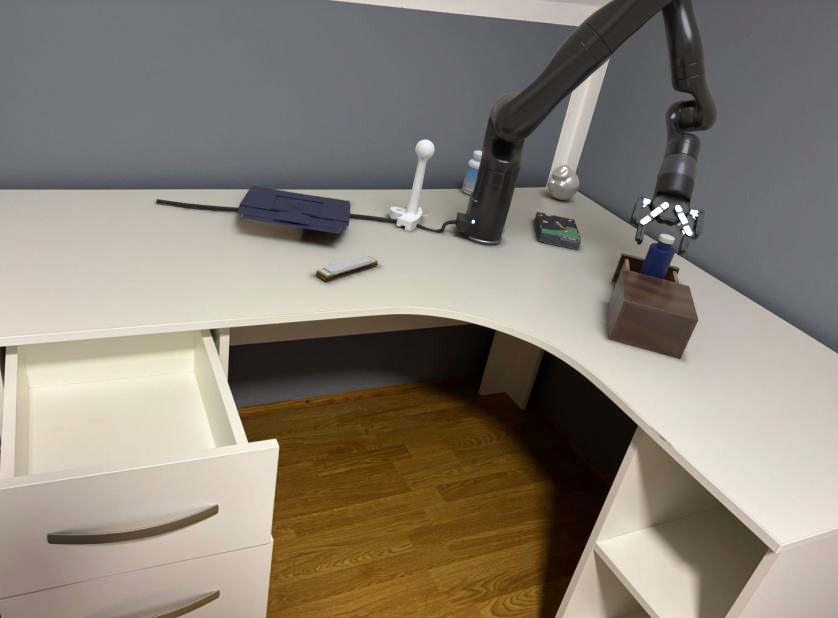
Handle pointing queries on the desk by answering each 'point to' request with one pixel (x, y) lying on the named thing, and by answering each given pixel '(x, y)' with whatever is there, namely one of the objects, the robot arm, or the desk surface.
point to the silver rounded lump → (563, 183)
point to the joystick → (414, 189)
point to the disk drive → (557, 230)
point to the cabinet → (651, 313)
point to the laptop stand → (295, 209)
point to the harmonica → (346, 267)
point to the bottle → (659, 257)
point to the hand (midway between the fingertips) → (660, 248)
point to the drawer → (635, 265)
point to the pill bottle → (472, 172)
